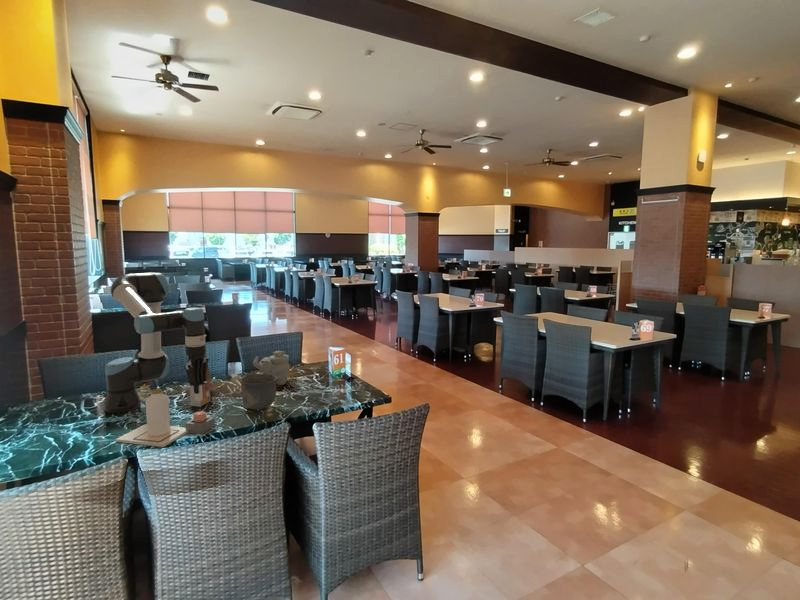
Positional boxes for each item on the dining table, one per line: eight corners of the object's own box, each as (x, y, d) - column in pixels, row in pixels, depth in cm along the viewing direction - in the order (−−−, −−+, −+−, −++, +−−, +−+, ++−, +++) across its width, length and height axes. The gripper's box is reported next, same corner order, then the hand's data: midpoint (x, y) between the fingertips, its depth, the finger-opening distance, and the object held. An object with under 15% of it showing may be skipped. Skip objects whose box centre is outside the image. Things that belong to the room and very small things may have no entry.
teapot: (252, 384, 252) (251, 351, 249) (272, 377, 265) (271, 346, 262) (275, 388, 244) (274, 355, 242) (293, 381, 257) (293, 349, 255)
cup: (286, 403, 221) (285, 374, 219) (266, 417, 205) (265, 385, 203) (254, 400, 226) (253, 371, 224) (233, 413, 209) (231, 381, 207)
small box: (200, 407, 217) (199, 385, 216) (190, 406, 218) (189, 385, 217) (210, 401, 225) (209, 380, 224) (200, 400, 226) (199, 380, 225)
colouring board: (116, 441, 179) (115, 438, 179) (146, 425, 195) (146, 423, 194) (163, 447, 174) (163, 444, 174) (191, 430, 190) (190, 427, 190)
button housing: (185, 432, 188) (185, 423, 187) (198, 424, 196) (197, 415, 195) (202, 434, 186) (202, 424, 186) (214, 426, 194) (214, 417, 193)
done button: (190, 424, 189) (190, 415, 188) (198, 419, 194) (198, 410, 193) (201, 425, 188) (200, 416, 187) (209, 420, 192) (208, 411, 192)
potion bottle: (174, 428, 189) (171, 387, 186) (164, 437, 180) (161, 393, 178) (154, 428, 188) (151, 387, 186) (143, 437, 180) (140, 394, 178)
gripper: (193, 349, 179) (196, 406, 182) (213, 342, 192) (216, 395, 195) (176, 348, 181) (180, 404, 184) (198, 341, 193) (201, 394, 196)
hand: (198, 400), depth 189 cm, fingers closed
